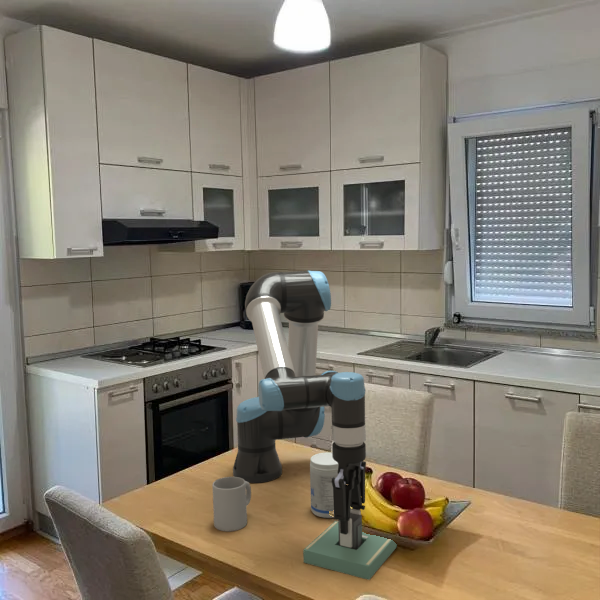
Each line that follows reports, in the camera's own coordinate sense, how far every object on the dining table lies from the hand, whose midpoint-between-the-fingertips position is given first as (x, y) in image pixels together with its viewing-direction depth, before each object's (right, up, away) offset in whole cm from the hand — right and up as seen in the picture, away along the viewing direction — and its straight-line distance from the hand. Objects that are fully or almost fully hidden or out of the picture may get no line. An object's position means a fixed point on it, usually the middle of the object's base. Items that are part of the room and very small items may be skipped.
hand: (350, 541), depth 145 cm
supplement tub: (-4, -1, +23) cm, 24 cm away
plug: (0, -3, 0) cm, 3 cm away
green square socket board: (0, -3, 0) cm, 3 cm away
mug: (-28, -2, +19) cm, 34 cm away
